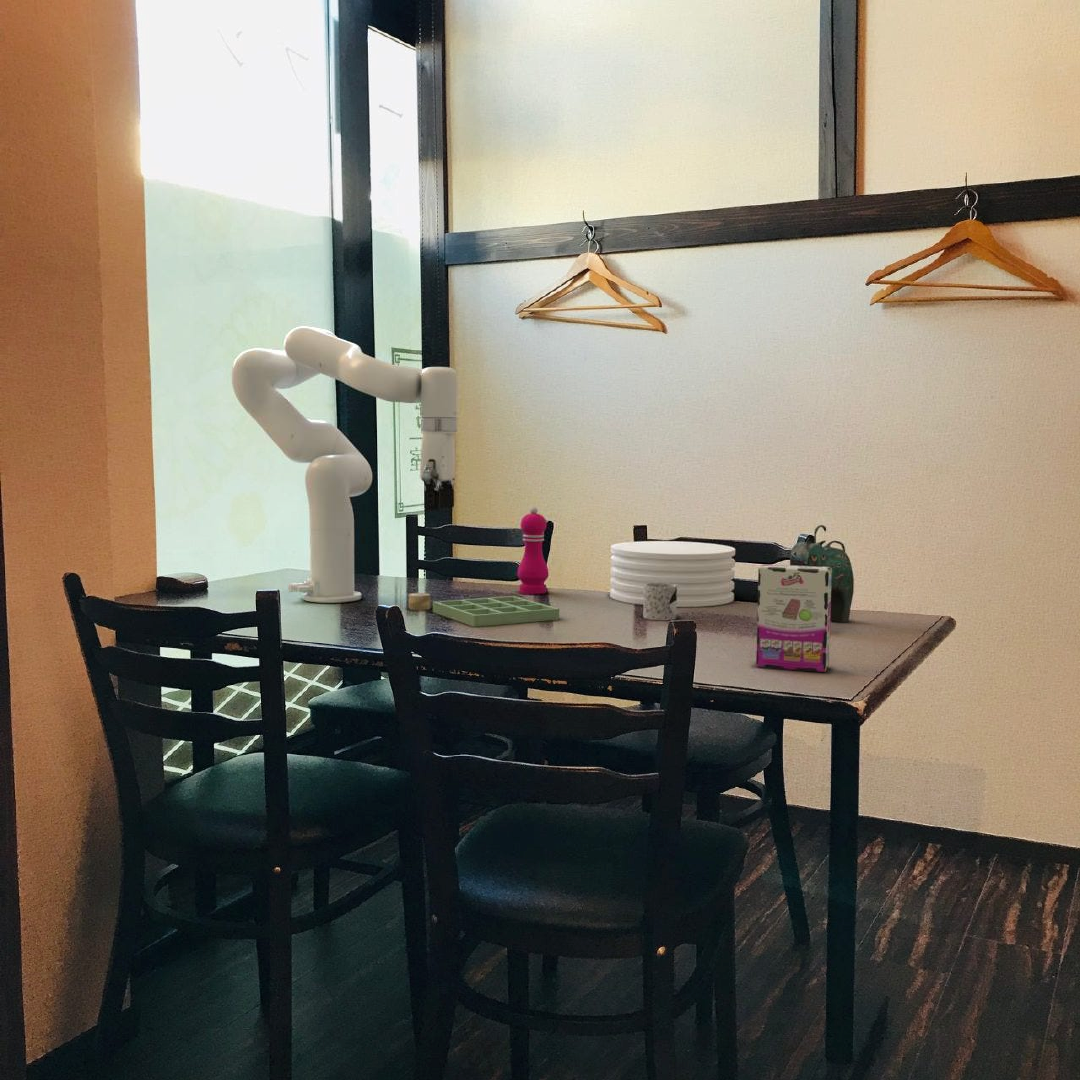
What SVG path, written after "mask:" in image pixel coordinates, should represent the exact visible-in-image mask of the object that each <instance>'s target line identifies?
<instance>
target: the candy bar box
mask: <svg viewBox="0 0 1080 1080" xmlns="http://www.w3.org/2000/svg"><path fill="white" fill-rule="evenodd" d="M757 572H758V573H757V612H756V614H757V615H756V616H757V618H756V620H757V621H756V655H755V657H756V658H755V666H756V667H758V668H766V669H777V670H792V671H805V672H817V673H825V672H826V671H827V670H828V668H829V667H830V648H831V647H830V645H831V621H830V611H831V576H832V568H831V567H815V566H791V565H790V564H789V565H788V564H787V565H785V564H762V565H760V566H759V567H758V570H757Z"/></svg>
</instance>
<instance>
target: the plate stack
mask: <svg viewBox="0 0 1080 1080" xmlns="http://www.w3.org/2000/svg"><path fill="white" fill-rule="evenodd" d="M610 552H611V553H612V554H613V555H611V556H610V564H611V565H613V566H611V567H610V572H609V573H610V576H611V578H610V580H609V586H610V587H612V588H610V590H609V597H610V598H611V599H613V600H615V601H619V602H623V603H628V604H633V605H640V606H641V605H642V606H644V584H647V583H670V584H675V585H677V604H676V608H697V607H699V608H700V607H715V606H720V605H721V606H722V605H727V604H730V603H732V602H733V601H734V600H735V593H734V592H733V591H734V589H735V582H734V581H733V579H734V578H735V577H736V576H735V573H736V572H735V570H734V569H733V568H734V567H735V566H736V560H735V559H734V558H732V557H734V556H736V548H735V547H733V546H730V545H724V544H719V543H709V542H698V541H674V540H647V541H646V540H643V541H641V540H639V541H625V542H618V543H614V544H611V545H610Z"/></svg>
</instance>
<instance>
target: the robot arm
mask: <svg viewBox="0 0 1080 1080" xmlns="http://www.w3.org/2000/svg"><path fill="white" fill-rule="evenodd" d="M283 348H284V350H277V349H276V350H275V349H268V348H251V349H247V350H245V351H243V352H241V353H239V355H238V356H237V357H236V358H235V360H234V362H233V364H232V365H233V366H232V369H231V384H232V389H233V392H234V395H235V396H236V399H237V401H238V402H239V404H240V405H241V407H243V409H244V410H245V411H246V413H248V415H250V417H252V419H253V420H254V421H255V422H256V423H257V424H258V425H259V426H260V427H261V428H262V430H263V431H264V432H265V433H266V435H267V436H268V437H269V438H270V439H271V440H272V441H273V443H274V444H275V445H276V446H277V447H278V448H279V449H280V451H281V452H282V453H283V454H284V455H285V456H286V457H287V458H288V459H289V460H290V461H292V462H294V463H297V464H308V467H307V468H306V471H305V476H304V483H305V484H304V485H305V491H306V495H307V501H308V511H309V512H308V514H309V558H310V559H309V562H310V564H309V565H310V567H309V572H310V574H309V575H310V577H306V578H305V580H304V581H302V582H299V583H298V582H293V583H288V584H287V585H288V586H287V588H288V589H287V590H288V592H289V593H303V594H302V599H303V600H304V601H306V602H311V603H324V604H335V603H337V604H338V603H348V602H350V603H351V602H355V601H360V600H361V599H362V593H361V592H360V591H356V590H355V517H354V515H355V514H354V511H353V505H352V502H351V498H353V497H358V496H360V495H362V494H365V493H366V492H367V491H368V490H369V489H370V487H371V485H372V482H373V471H372V468H371V465H370V464H369V462H368V460H367V459H366V457H364V455H363V454H362V453H361V452H360V451H359V449H357V447H355V446H354V444H353V443H352V442H351V441H350V440H349V439H348V437H346V435H344V433H343V432H342V431H341V430H340V429H339V428H338V427H336V426H335V425H334V424H332V423H331V422H328V421H325V420H318V419H309V418H307V417H305V416H304V415H303V414H302V413H301V412H300V411H299V410H298V408H296V407H295V405H294V403H292V402H291V401H290V400H289V399H288V398H287V397H285V396H284V395H283V394H282V393H280V392H279V391H278V390H285V389H286V390H287V389H291V388H293V387H294V388H295V387H297V386H299V385H300V384H302V383H304V382H306V381H308V380H310V379H312V378H315V377H316V376H318V375H320V374H322V375H324V376H327V377H329V378H332V379H334V380H337V381H340V382H341V383H344V385H347V386H349V387H350V388H352V389H355V390H357V391H358V392H362V393H364V394H367V395H370V396H371V397H375V398H377V399H380V400H383V401H386V402H389V403H403V404H416V403H417V404H418V403H420V417H421V418H420V433H421V434H422V437H421V448H420V465H419V466H420V467H419V468H420V469H419V470H420V471H419V472H420V473H419V478H420V480H421V481H422V482H423V497H424V498H423V499H424V500H423V501H424V502H423V504H424V506H423V507H424V509H423V510H424V511H434V512H436V511H437V512H438V511H440V510H441V508H454V507H455V482H454V481H455V477H456V449H455V435H458V373H457V371H456V370H455V368H452V367H449V366H448V367H447V366H429V367H425V368H418V367H411V366H405V365H396V364H392V363H389V362H386V361H383V360H380V359H378V358H375V357H372V356H370V355H368V354H365V353H364V352H363V351H362V348H361V347H360V346H359V345H358V344H356V343H353V342H351V341H347V340H345V339H343V338H339V337H338V336H337V335H335V333H334V332H331V331H330V330H327V329H323V328H317V327H313V326H312V327H311V326H297V327H295V328H293V329H292V330H290V331H289V332H288V333H287V334H286V336H285V338H284V342H283ZM277 389H278V390H277Z"/></svg>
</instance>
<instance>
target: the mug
mask: <svg viewBox="0 0 1080 1080" xmlns="http://www.w3.org/2000/svg"><path fill="white" fill-rule="evenodd" d="M676 604H677V585H675V584H670V583H647V584H644V605H643V607H642V608H643V611H642V612H643V613H642V614H643V615H642V616H643V619H646V620H651V621H673V620H676V619H677V607H676Z"/></svg>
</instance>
